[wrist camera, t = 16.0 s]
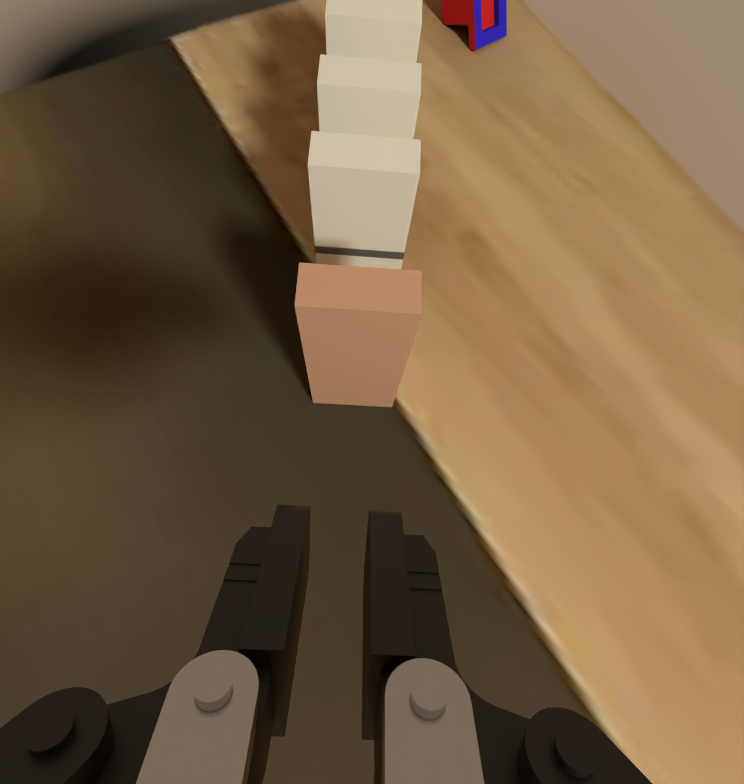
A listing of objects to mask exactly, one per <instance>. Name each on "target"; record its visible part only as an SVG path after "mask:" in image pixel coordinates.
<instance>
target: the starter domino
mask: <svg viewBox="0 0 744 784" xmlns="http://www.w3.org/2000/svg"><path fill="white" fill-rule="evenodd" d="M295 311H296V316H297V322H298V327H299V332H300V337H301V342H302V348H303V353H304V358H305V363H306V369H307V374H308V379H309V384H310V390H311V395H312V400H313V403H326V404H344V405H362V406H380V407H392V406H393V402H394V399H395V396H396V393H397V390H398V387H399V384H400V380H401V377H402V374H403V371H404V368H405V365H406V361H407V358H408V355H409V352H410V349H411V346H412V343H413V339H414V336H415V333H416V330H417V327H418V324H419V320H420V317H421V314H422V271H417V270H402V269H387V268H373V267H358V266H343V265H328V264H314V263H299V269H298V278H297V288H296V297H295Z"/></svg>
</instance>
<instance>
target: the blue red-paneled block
mask: <svg viewBox="0 0 744 784" xmlns="http://www.w3.org/2000/svg"><path fill="white" fill-rule="evenodd" d="M441 5H442V17H443V24H445V25H466V26H468V28H469V47H470V50H478V49H480V48H482V47H484V46H486V45H488V44H491V43H493V42H495V41H497V40H499V39H501V38H503V37H505V36H507V31H506V0H441Z"/></svg>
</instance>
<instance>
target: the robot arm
mask: <svg viewBox="0 0 744 784" xmlns="http://www.w3.org/2000/svg"><path fill="white" fill-rule="evenodd" d="M309 549H310V506H295V505H278V506H277V508H276V512H275V515H274V519H273V523H272V526H271V528H268V527H251V528H250V529H249V530H248V531H247V532H246V533H245V534H244V536H243V537H242V538H241V539H240V540H239V541H238V542H237V543H236V546H235V549H234V551H233V554H232V557H231V560H230V563H229V567H228V568H227V571H226V574H225V577H224V582H223V584H222V585H221V588H220V591H219V594H218V597H217V600H216V602H215V605H214V608H213V611H212V614H211V617H210V619H209V622H208V625H207V628H206V631H205V634H204V637H203V639H202V642H201V645H200V648H199V650H198V652H197V655H196V656H195V658H194V659H193V660H192V661H191V662H189V663H188V664H187V665H185V666H184V667H183V668H182V669H181V670H180V672H179V673H178V674H177V675H176V676H175V678H174V680H173V681H172V682H170V683H169V684H167V685H165V686H164V687H162V688H159V689H157V690H155V691H152V692H150V693H147V694H143V695H140V696H136V697H133V698H129V699H125V700H122V701H118V702H115V703H111V704H108V705H106V703H105V701H104V699H103V698H102V697H101V695H99V694H98V693H97V692H95V691H93V690H91V689H88V688H82V687H74V688H67V689H62V690H59V691H56V692H53V693H51V694H49V695H46V696H44V697H43V698H41V699H39V700H37V701H36V702H34V703H33V704H31V705H30V706H28V707H27V708H26V709H24V710H23V711H22V712H21V713H19V714H18V715H17V716H16V717H14V718H13V719H12V720H10V721H9V722H8V723H7V724H5V725H4V726H3V727H2V728H0V784H263V778H264V774H265V770H266V764H267V758H268V752H269V746H270V741H271V736H281V737H285V730H286V724H287V717H288V710H289V703H290V696H291V690H292V683H293V676H294V669H295V662H296V656H297V649H298V642H299V635H300V628H301V622H302V615H303V608H304V601H305V594H306V588H307V580H308V570H309ZM362 739H365V740H374V766H375V771H374V778H373V784H652V783H651V782H650V781H649V780H648V779H647V778H646V777H645V776H644V775H643V774H642V772H641V771H640V770H639V769H638V768H637V767H636V766H635V765H634V764H633V763H632V762H631V761H630V760H629V759H628V758H627V757H626V756H625V755H624V754H623V753H622V752H621V751H620V750H619V748H618V747H617V746H616V745H615V744H614V743H613V742H612V741H611V740H610V739H609V738H608V737H607V736H606V735H605V734H604V733H603V732H602V731H601V730H600V729H599V728H598V727H597V726H596V725H595V724H594V723H592V722H591V721H590V720H588V719H587V718H585V717H584V716H582V715H580V714H578V713H576V712H574V711H571V710H568V709H564V708H556V707H554V708H547V709H543V710H541V711H539V712H538V713H536V714H535V715H534V716H533V717H532V718H531V720H530V719H527V718H525V717H522V716H519V715H517V714H514V713H512V712H509V711H506V710H504V709H501V708H499V707H496V706H494V705H492V704H490V703H488V702H486V701H485V700H483V699H482V698H480V697H479V696H478V695H477V694H475V693H474V692H473V691H472V690H471V689H470V688H469V687H468V686H467V684H466V683H465V682H464V680H463V679H462V677H461V675H460V674H459V672H458V669H457V667H456V664H455V660H454V655H453V650H452V644H451V638H450V633H449V627H448V621H447V616H446V610H445V604H444V599H443V594H442V587H441V582H440V577H439V570H438V565H437V559H436V553H435V552H434V550H433V549H432V547H431V546H430V544H429V543H428V542H427V540H426V539H425V537H424V536H422V535H404V534H403V524H402V514H401V511H388V510H369V518H368V529H367V540H366V552H365V564H364V586H363V680H362Z"/></svg>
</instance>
